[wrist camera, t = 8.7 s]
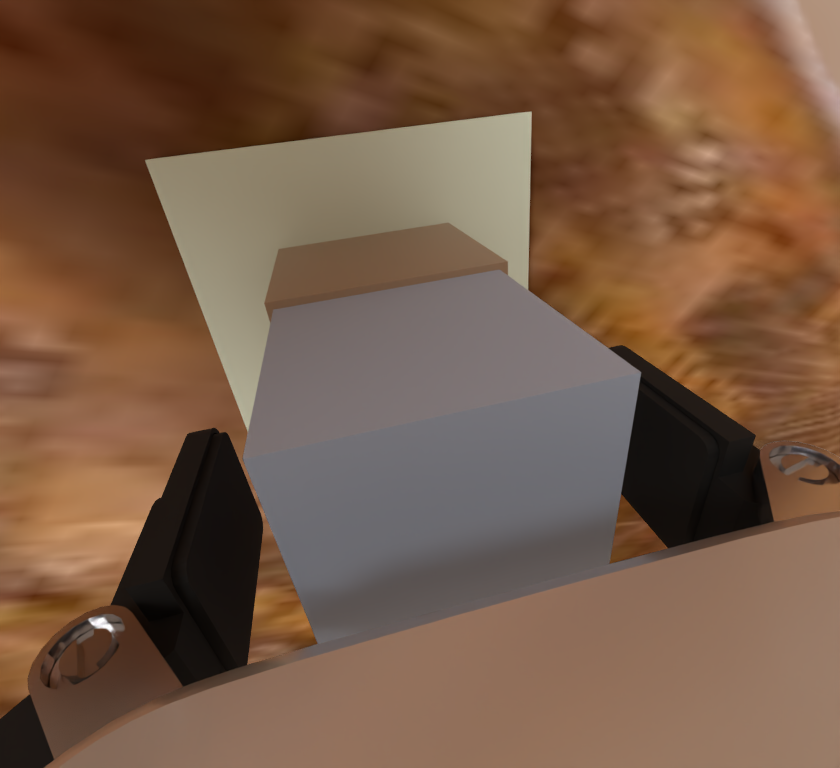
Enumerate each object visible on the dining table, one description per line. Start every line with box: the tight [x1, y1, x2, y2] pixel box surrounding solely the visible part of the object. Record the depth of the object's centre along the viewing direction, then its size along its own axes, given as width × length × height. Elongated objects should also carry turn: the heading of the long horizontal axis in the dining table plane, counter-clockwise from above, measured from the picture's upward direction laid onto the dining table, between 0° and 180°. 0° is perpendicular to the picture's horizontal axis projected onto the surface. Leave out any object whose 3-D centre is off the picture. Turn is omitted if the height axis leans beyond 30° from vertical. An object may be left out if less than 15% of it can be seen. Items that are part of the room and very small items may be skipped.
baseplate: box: [145, 112, 532, 431], centre depth 16 cm, size 13×13×7 cm
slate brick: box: [243, 270, 641, 644], centre depth 11 cm, size 6×6×6 cm
